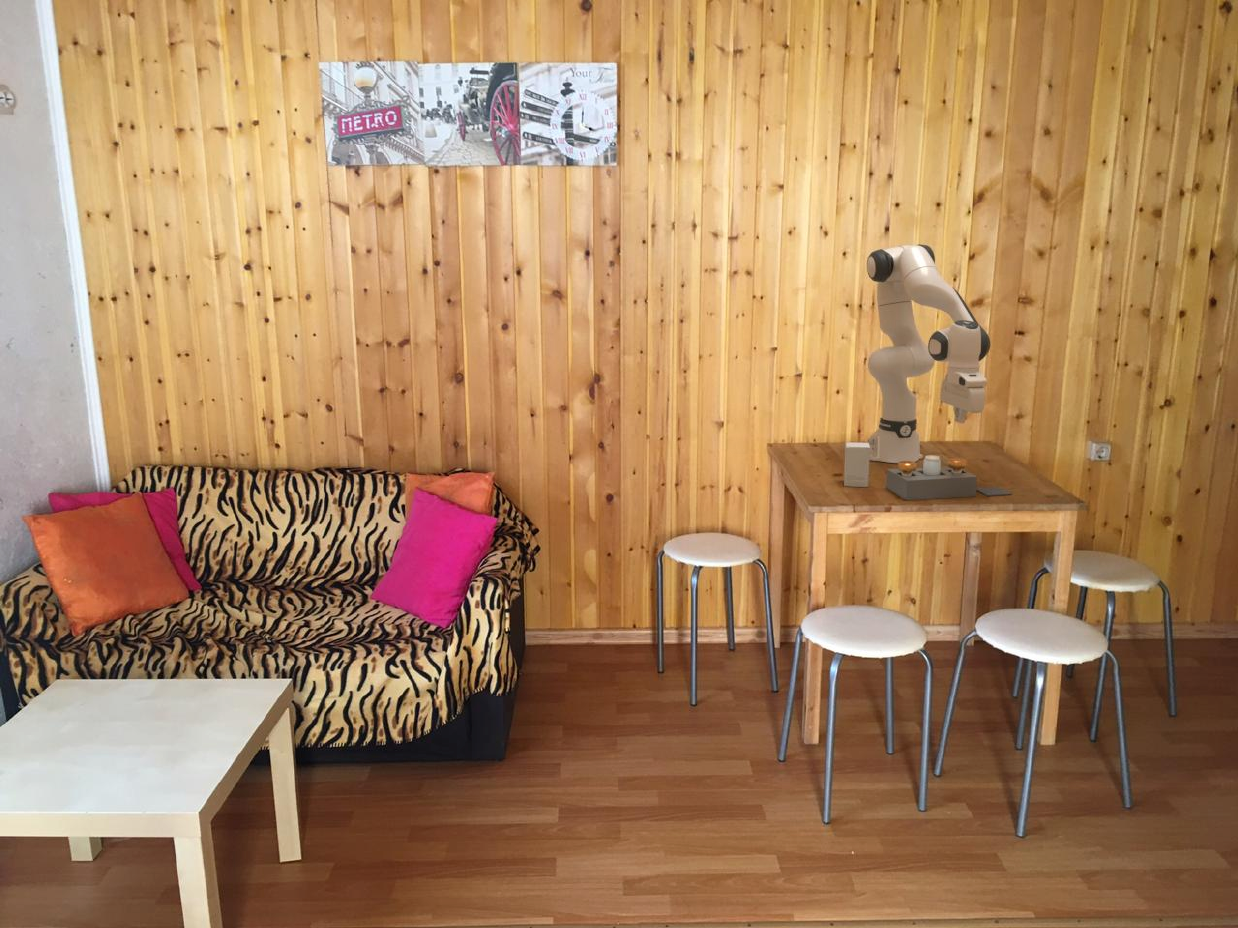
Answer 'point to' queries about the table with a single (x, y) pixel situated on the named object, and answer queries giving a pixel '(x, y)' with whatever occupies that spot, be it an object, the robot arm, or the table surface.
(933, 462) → the block
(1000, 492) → the mat
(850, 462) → the supplement box
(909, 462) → the plunger
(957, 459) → the plunger
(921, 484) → the block
